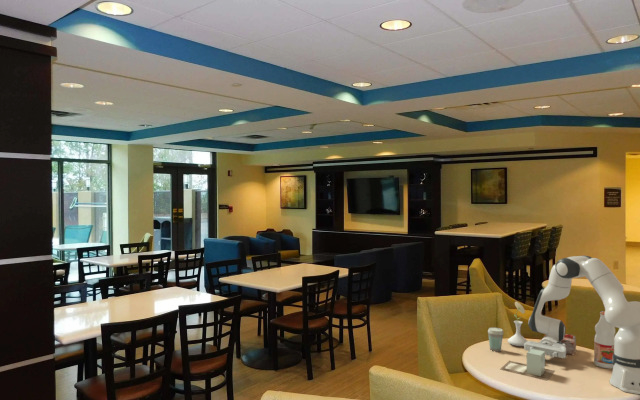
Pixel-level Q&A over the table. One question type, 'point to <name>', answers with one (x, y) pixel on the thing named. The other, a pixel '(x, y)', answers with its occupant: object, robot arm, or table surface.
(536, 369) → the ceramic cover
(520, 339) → the flower in vase
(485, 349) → the table surface
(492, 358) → the table surface
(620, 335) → the robot arm
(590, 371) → the table surface
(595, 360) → the fruit juice
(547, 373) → the walnut board
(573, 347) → the food item
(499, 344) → the coffee cup
